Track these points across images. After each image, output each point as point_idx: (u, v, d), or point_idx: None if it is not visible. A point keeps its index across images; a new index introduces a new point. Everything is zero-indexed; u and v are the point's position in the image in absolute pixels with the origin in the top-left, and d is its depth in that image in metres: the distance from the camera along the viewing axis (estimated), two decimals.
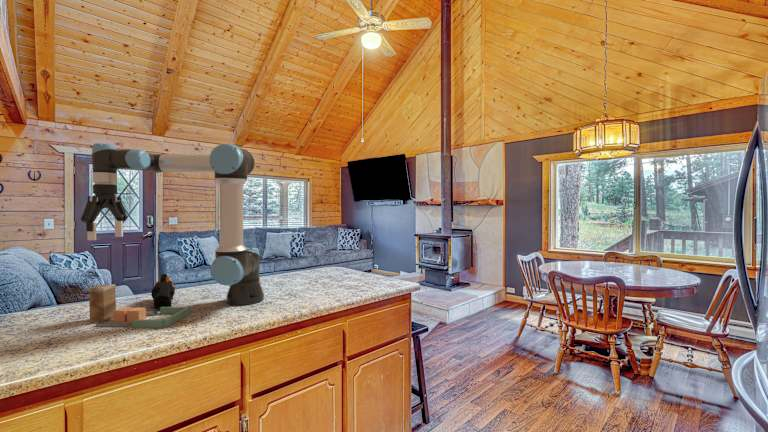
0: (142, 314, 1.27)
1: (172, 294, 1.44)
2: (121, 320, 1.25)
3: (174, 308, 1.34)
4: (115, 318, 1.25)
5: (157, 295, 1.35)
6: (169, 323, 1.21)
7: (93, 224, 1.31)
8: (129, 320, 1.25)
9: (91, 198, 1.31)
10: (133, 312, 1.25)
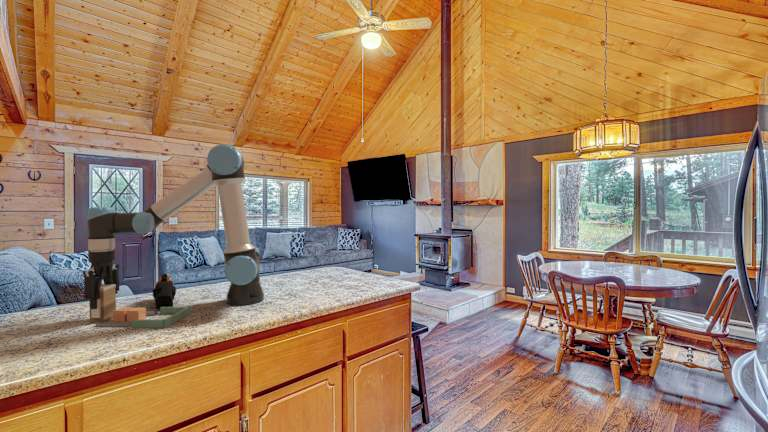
0: (142, 314, 1.27)
1: (173, 294, 1.44)
2: (121, 320, 1.25)
3: (174, 308, 1.34)
4: (115, 319, 1.25)
5: (159, 295, 1.35)
6: (169, 323, 1.21)
7: (97, 301, 1.23)
8: (129, 320, 1.25)
9: (87, 274, 1.20)
10: (133, 312, 1.25)
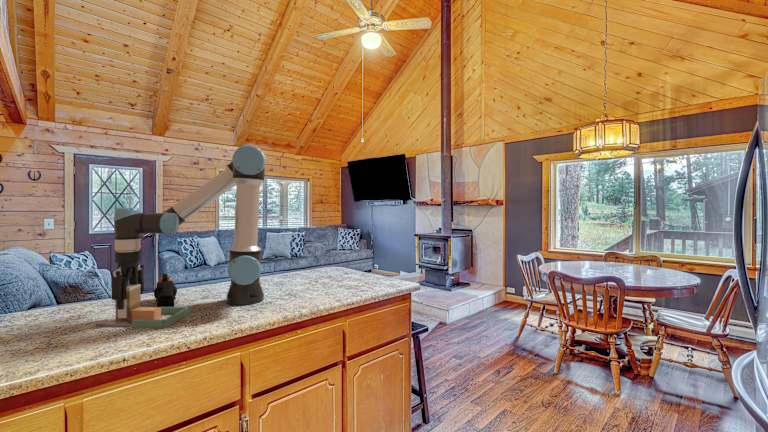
0: (157, 314, 1.27)
1: (175, 294, 1.44)
2: None
3: (174, 308, 1.34)
4: (133, 318, 1.25)
5: (161, 295, 1.36)
6: (169, 323, 1.21)
7: (124, 301, 1.23)
8: None
9: (114, 274, 1.20)
10: (149, 312, 1.25)
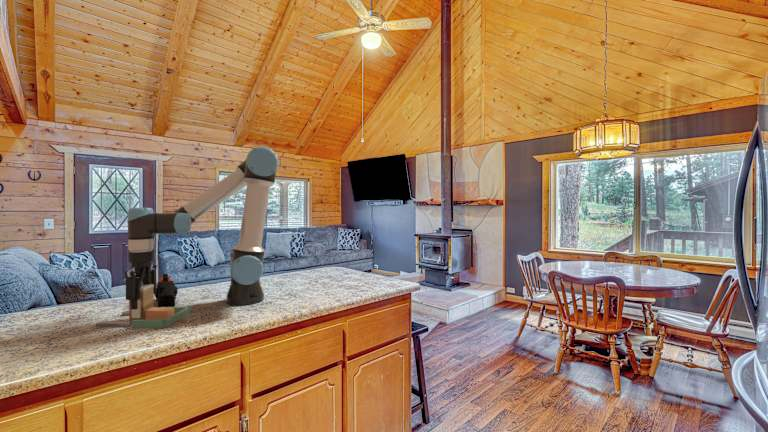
0: (171, 314, 1.27)
1: (175, 293, 1.44)
2: None
3: (174, 308, 1.34)
4: (147, 318, 1.25)
5: (162, 294, 1.36)
6: (169, 323, 1.21)
7: (138, 301, 1.23)
8: None
9: (129, 274, 1.20)
10: (162, 312, 1.25)
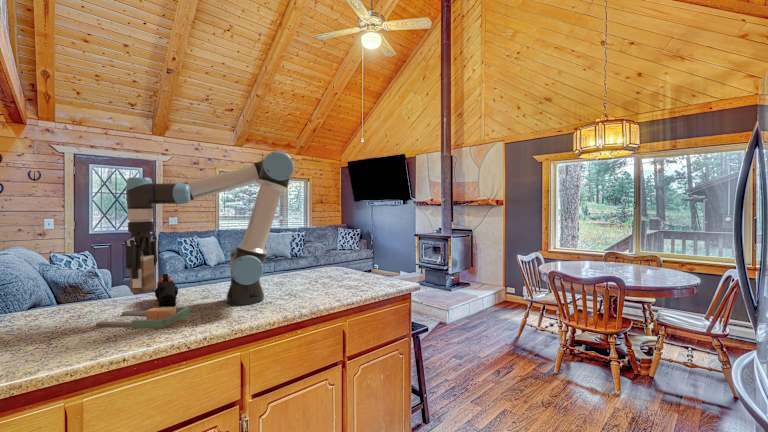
0: (172, 314, 1.27)
1: (176, 293, 1.45)
2: None
3: None
4: (148, 319, 1.25)
5: (163, 294, 1.36)
6: (169, 323, 1.21)
7: (138, 271, 1.23)
8: None
9: (129, 243, 1.19)
10: (164, 312, 1.25)
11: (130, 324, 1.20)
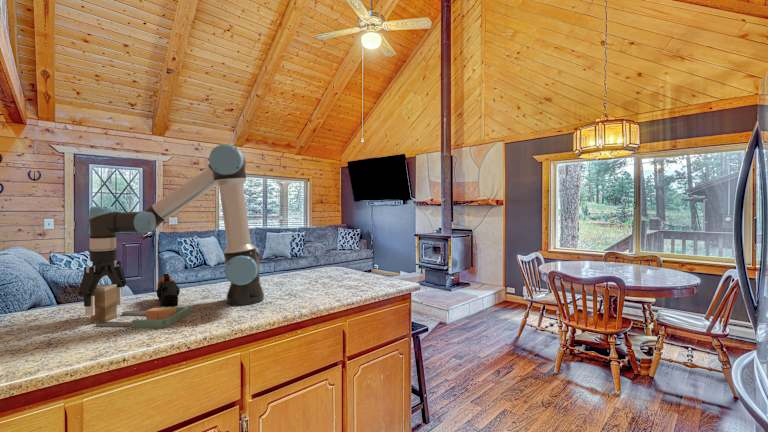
0: (172, 314, 1.27)
1: (177, 293, 1.45)
2: None
3: None
4: (148, 319, 1.25)
5: (166, 294, 1.36)
6: (169, 323, 1.21)
7: (91, 298, 1.20)
8: None
9: (88, 269, 1.19)
10: (164, 312, 1.25)
11: (130, 324, 1.20)
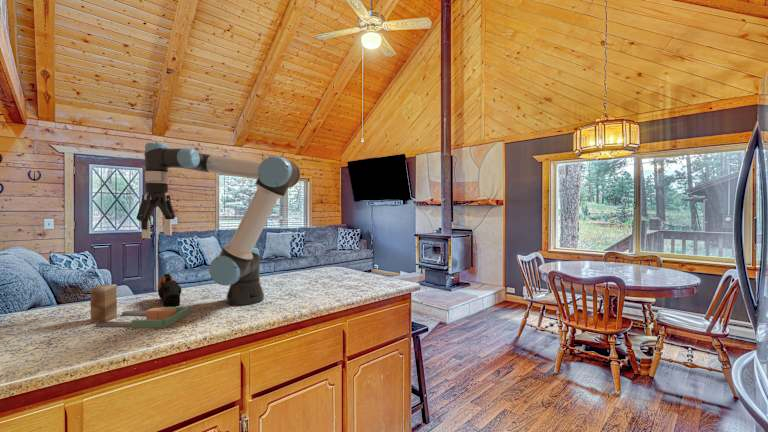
0: (172, 314, 1.27)
1: (179, 293, 1.46)
2: None
3: None
4: (148, 319, 1.25)
5: (168, 294, 1.37)
6: (169, 323, 1.21)
7: (147, 222, 1.32)
8: None
9: (145, 196, 1.32)
10: (164, 312, 1.25)
11: (130, 324, 1.20)
